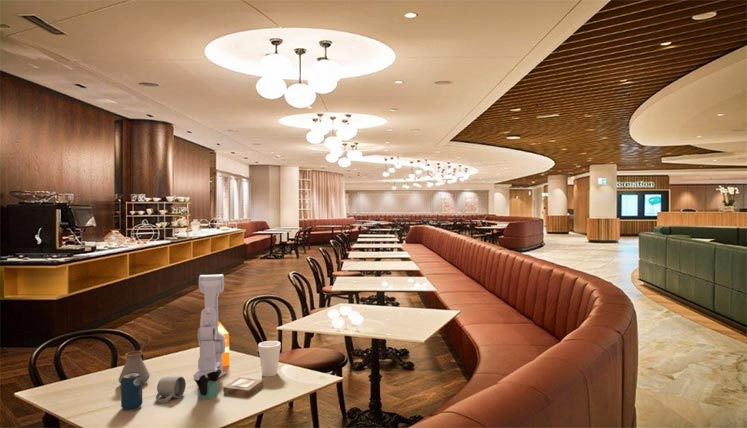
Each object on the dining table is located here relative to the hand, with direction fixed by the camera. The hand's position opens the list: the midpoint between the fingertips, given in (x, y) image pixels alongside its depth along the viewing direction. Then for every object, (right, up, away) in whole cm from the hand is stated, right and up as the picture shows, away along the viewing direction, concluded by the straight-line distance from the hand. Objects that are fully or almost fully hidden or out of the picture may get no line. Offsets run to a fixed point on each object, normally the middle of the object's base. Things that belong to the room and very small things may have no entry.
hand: (208, 392), depth 187 cm
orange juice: (-8, -1, +36) cm, 37 cm away
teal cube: (0, -2, 0) cm, 2 cm away
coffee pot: (-35, -1, +17) cm, 39 cm away
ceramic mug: (-14, -2, -2) cm, 14 cm away
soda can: (-24, -2, -10) cm, 26 cm away
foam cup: (+19, -1, +24) cm, 30 cm away
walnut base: (+12, -2, +6) cm, 14 cm away
